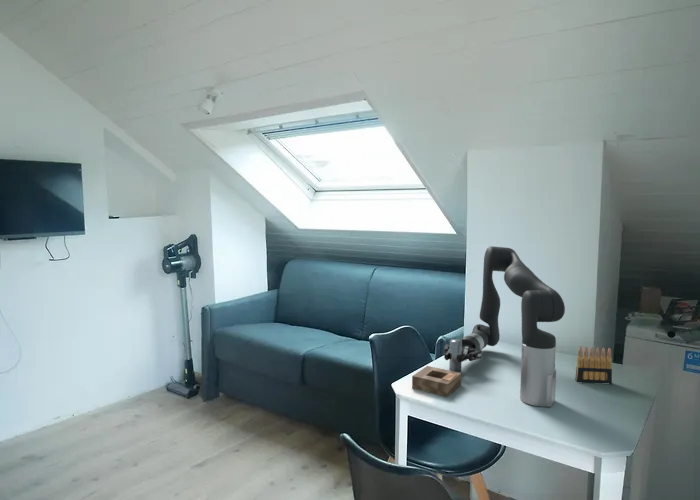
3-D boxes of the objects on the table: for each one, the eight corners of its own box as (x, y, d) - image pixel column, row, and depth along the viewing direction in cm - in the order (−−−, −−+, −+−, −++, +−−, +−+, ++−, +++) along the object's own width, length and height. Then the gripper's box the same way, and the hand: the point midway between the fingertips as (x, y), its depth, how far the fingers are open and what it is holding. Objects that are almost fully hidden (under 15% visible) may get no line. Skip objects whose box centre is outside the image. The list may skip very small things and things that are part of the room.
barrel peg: (463, 374, 160) (463, 340, 159) (458, 377, 157) (459, 343, 155) (452, 371, 162) (452, 338, 161) (447, 375, 159) (447, 341, 158)
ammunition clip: (576, 382, 152) (578, 347, 151) (575, 380, 154) (576, 345, 153) (611, 384, 151) (613, 348, 149) (609, 382, 152) (611, 346, 151)
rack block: (461, 385, 151) (461, 372, 150) (447, 396, 142) (447, 383, 141) (427, 377, 157) (427, 365, 157) (412, 387, 148) (412, 375, 148)
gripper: (452, 332, 174) (433, 344, 160) (490, 338, 166) (473, 351, 152) (452, 352, 175) (432, 365, 161) (489, 359, 167) (472, 373, 153)
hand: (452, 358), depth 157 cm, fingers closed on barrel peg, 4 cm apart
